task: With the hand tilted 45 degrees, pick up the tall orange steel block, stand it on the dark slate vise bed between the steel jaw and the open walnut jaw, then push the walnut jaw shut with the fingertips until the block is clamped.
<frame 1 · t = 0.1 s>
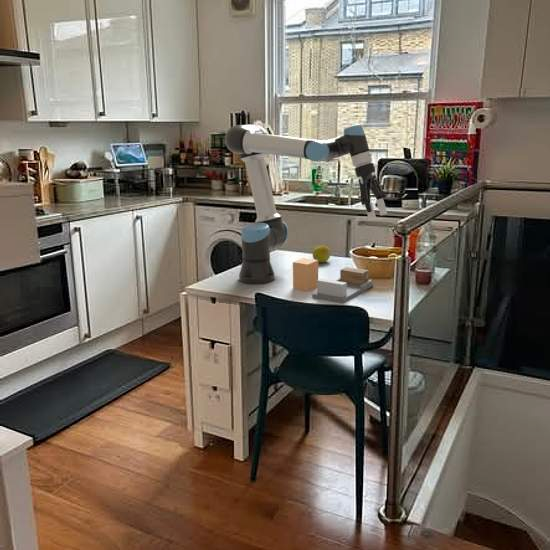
hand: (378, 217, 216), 28 cm above the table, fingers open, 13 cm apart
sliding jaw: (354, 275, 222), point 4 cm above the table, slide at 0.0 cm
vise: (339, 293, 214), on the table
block: (305, 287, 222), on the table
lemon: (322, 262, 261), on the table
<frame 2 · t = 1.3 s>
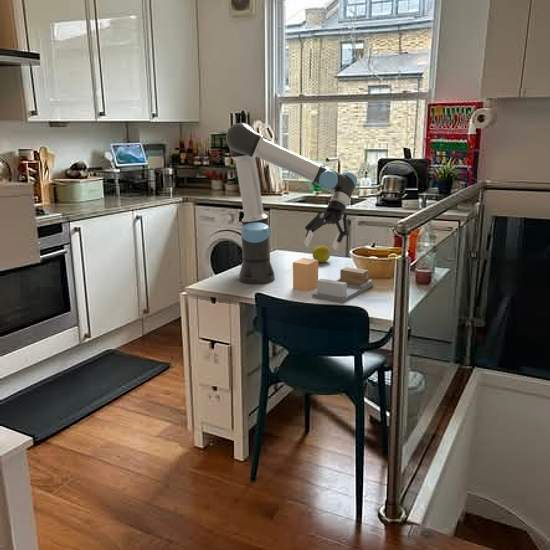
hand: (319, 246, 226), 15 cm above the table, fingers open, 13 cm apart
nothing on the table moved.
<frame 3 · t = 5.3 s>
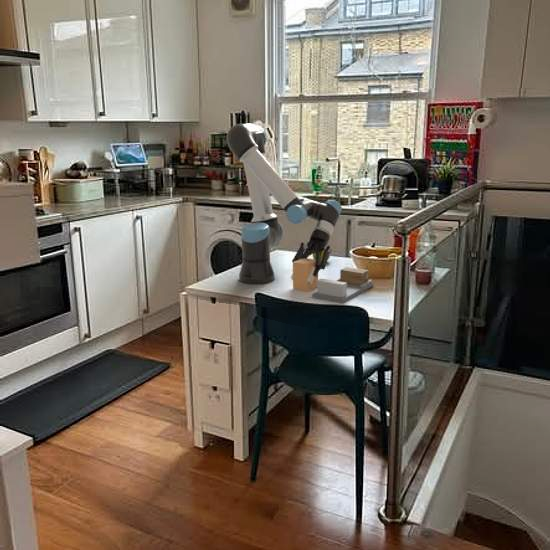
hand: (301, 281, 219), 4 cm above the table, fingers closed on block, 7 cm apart
block: (305, 287, 222), on the table, touching gripper
everything else where it was.
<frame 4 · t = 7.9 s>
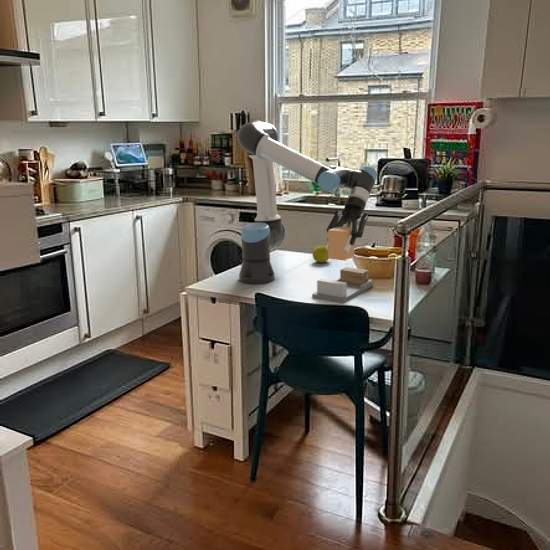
hand: (336, 250, 207), 18 cm above the table, fingers closed on block, 7 cm apart
block: (341, 257, 211), point 14 cm above the table, touching gripper
everything else where it was.
when the fingers open (6 cm above the table, at t = 10.9 s): block drops 1 cm, resting on vise.
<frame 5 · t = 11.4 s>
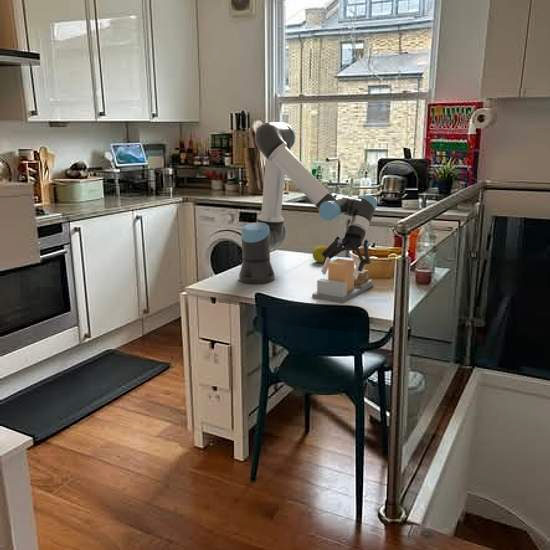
hand: (338, 275, 210), 8 cm above the table, fingers open, 13 cm apart
block: (341, 289, 214), point 1 cm above the table, touching vise
everything else where it was.
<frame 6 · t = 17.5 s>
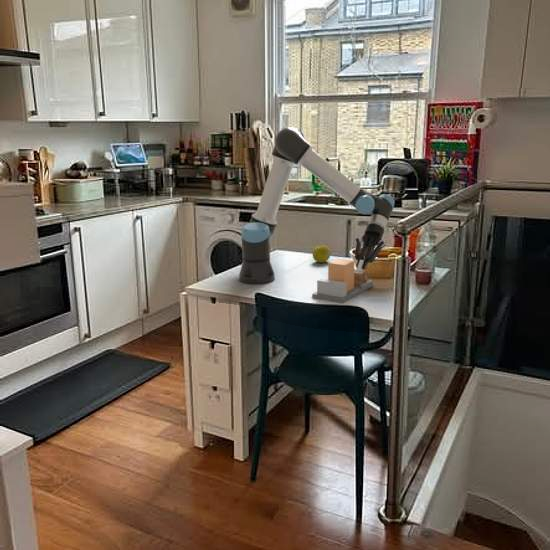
hand: (357, 275, 224), 4 cm above the table, fingers closed
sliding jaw: (352, 276, 221), point 4 cm above the table, slide at 1.3 cm, touching gripper
everything else where it was.
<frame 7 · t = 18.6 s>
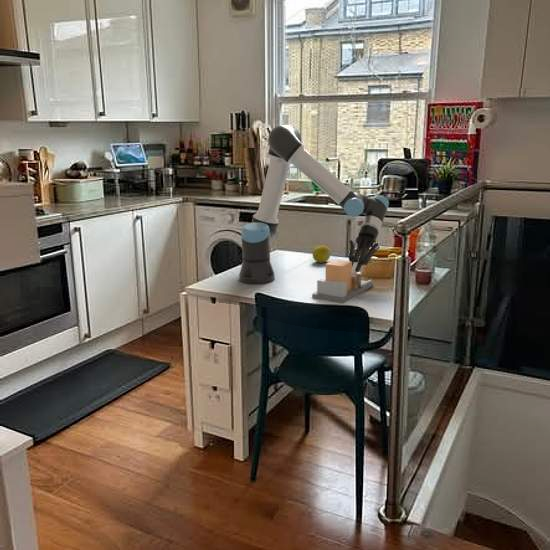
hand: (351, 277, 220), 4 cm above the table, fingers closed
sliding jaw: (346, 279, 217), point 4 cm above the table, slide at 6.5 cm, touching block, gripper
block: (338, 290, 212), point 2 cm above the table, touching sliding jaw, vise
everything else where it was.
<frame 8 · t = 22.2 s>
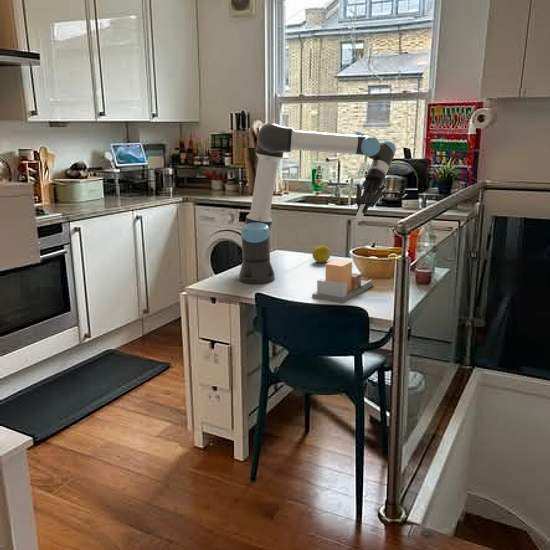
hand: (358, 219, 222), 26 cm above the table, fingers closed
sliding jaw: (346, 279, 217), point 4 cm above the table, slide at 6.5 cm, touching block
everything else where it was.
at the end: block 1.0 cm off-centre on the vise, point 1.5 cm above the vise's base; block tilted 0°; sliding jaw slide at 6.5 cm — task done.
